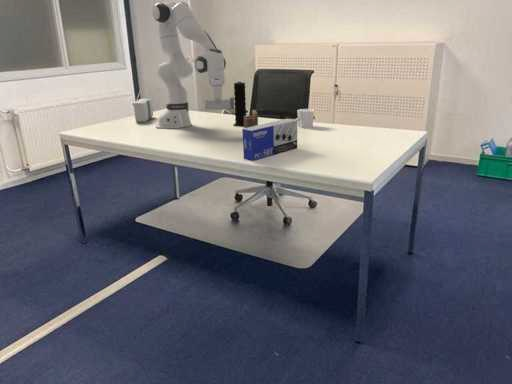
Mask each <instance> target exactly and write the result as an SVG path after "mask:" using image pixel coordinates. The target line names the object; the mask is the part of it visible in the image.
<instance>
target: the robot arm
mask: <svg viewBox="0 0 512 384" xmlns="http://www.w3.org/2000/svg"><path fill="white" fill-rule="evenodd" d="M152 14H153V18H154V19H155V21H156V22H158V25H157V27H158V28H157V29H158V35H159V40H160V45H161V51H162V53H163V55H166V57H167V58H168V59H169V61H165V62H163V63H161V64H159V65H158V68H157V75H158V77H159V78H160V79H161V80H162V81H163V83H164V84H165V86H166V89H167V93H168V101H169V102H167V103H166V110H165V111H164V112H163V113H161V114H160V115H159V118H158V123H156V124H155V128H156V129H182V128H184V127H185V128H186V127H190V126H191V125H192V124H193V123H192V122H191V118H190V112H189V111H190V108H189V106H190V105H189V102H188V92H187V89H186V87H184V86H183V85H182V82H181V80H184V79H187V78H189V77H191V76H192V75H193V72H194V68H193V65H192V63H191V62H189V60H188V59H186V57H185V54H184V53H183V51H182V47H181V44H180V38H179V34H178V33H180V35H181V36H182V37H183V38H184V39H187V40H190V41H194V42H196V43H198V44H200V45H201V46H202V47H203V48H204V49H205V51H206V53H203V54H202V55H198V56H196V58H195V61H194V67H195V70H196V71H197V72H198V73H199V74H207V77H208V85H210V87H211V88H212V94H213V100H216V107H219V100H221V99H222V95H223V94H222V93H223V92H222V91H223V90H222V89H223V85H225V81H226V79H225V71H224V70H225V69H226V65H227V62H226V58H225V57H224V54H223V51H222V50H221V49H218V47H216V44H215V42H214V41H213V40H212V38H211V36H210V35H209V33H208V32H207V31H206V30H205V29H203V28H202V26H201V25H200V24H199V22H198V21H197V18H196V17H195V15H194V13H193V11H192V10H191V8H190V6H189V5H188V3H187V2H184V1H164V2H158V3H157V2H156V3H155V4H154V5H153V8H152ZM178 31H179V32H178Z"/></svg>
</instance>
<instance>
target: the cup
mask: <svg viewBox="0 0 512 384" xmlns="http://www.w3.org/2000/svg"><path fill="white" fill-rule="evenodd" d="M296 111H297V112H296V113H297V128H300V129H310V128H312V127H313V125H314V116H315V115H314V114H315V109H314V108H313V109H312V108H301V109H297V110H296Z"/></svg>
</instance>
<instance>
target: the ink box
mask: <svg viewBox="0 0 512 384" xmlns="http://www.w3.org/2000/svg"><path fill="white" fill-rule="evenodd" d="M241 130H242V148H243V160H246V161H251V162H255V161H258V160H261V159H264V158H268V157H271V156H275V155H278V154H282V153H285V152H289V151H291V150H295V149H298V119H293V118H284V119H279V120H274V121H270V122H267V123H266V122H265V123H261V124H258V125H256V126H252V127H247V128H244V127H243V128H242V129H241Z"/></svg>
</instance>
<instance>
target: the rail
mask: <svg viewBox="0 0 512 384" xmlns="http://www.w3.org/2000/svg"><path fill="white" fill-rule="evenodd" d="M234 98H235V96H230V97H229V98H223V99H222V98H221V100H219V107H216V100H214V99H204V109H205V111H208V110H209V111H210V110H211V111H213V110H215V111H217V110H235V99H234Z"/></svg>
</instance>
